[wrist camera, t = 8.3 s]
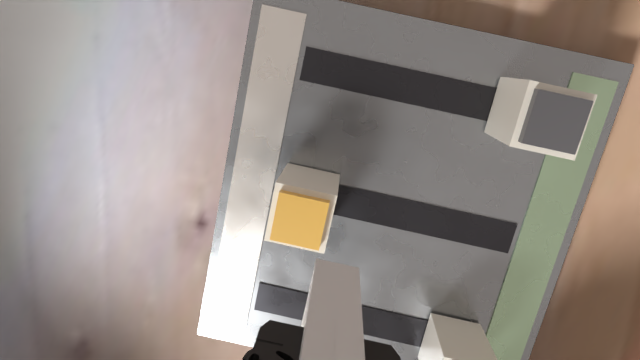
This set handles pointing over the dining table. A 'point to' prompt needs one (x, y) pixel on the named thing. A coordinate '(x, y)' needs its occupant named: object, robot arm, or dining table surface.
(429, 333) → the block
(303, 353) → the robot arm
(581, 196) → the panel
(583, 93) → the block
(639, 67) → the dining table surface
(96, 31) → the dining table surface
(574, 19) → the dining table surface
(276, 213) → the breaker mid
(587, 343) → the dining table surface
